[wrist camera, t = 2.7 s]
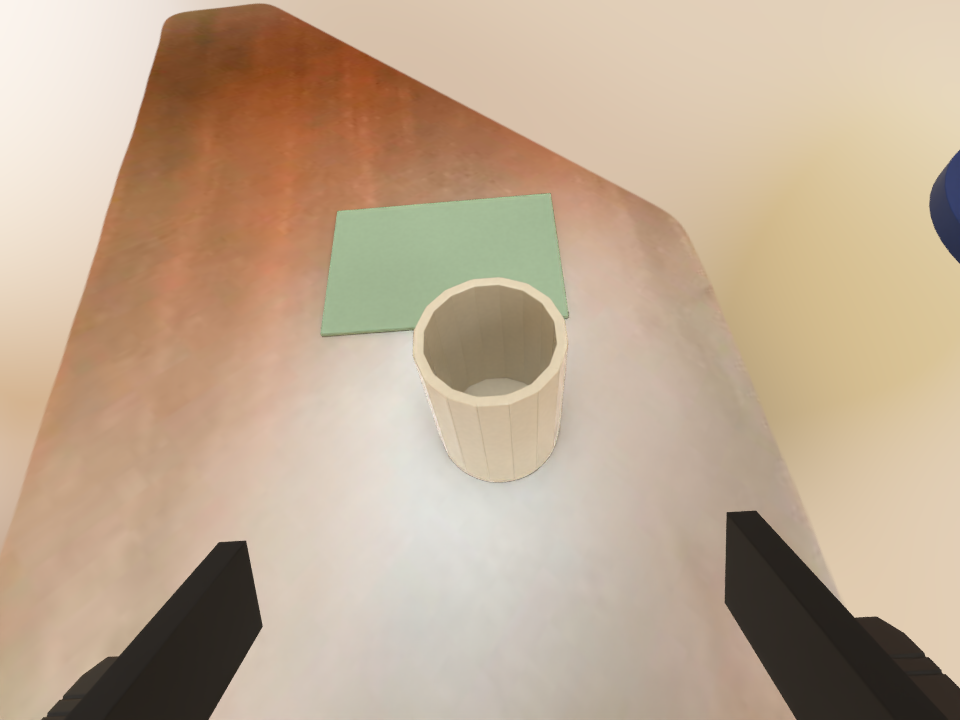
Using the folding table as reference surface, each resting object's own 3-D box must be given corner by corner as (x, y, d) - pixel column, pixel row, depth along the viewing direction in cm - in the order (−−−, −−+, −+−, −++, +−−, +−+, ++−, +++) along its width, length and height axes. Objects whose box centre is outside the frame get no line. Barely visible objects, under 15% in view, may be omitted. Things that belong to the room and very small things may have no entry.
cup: (551, 371, 42) (558, 271, 33) (564, 478, 38) (576, 400, 28) (441, 379, 43) (414, 283, 33) (441, 486, 38) (410, 411, 29)
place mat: (550, 196, 52) (550, 192, 52) (568, 318, 45) (568, 315, 45) (338, 214, 53) (337, 210, 53) (321, 336, 46) (320, 333, 46)
